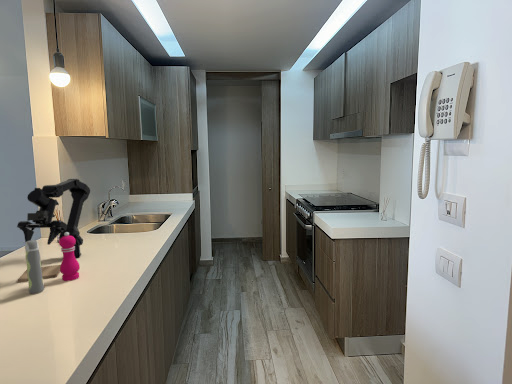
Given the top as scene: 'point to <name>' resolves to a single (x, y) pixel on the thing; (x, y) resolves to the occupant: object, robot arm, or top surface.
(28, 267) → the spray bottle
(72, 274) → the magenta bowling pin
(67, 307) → the top surface
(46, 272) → the taupe cutting board
